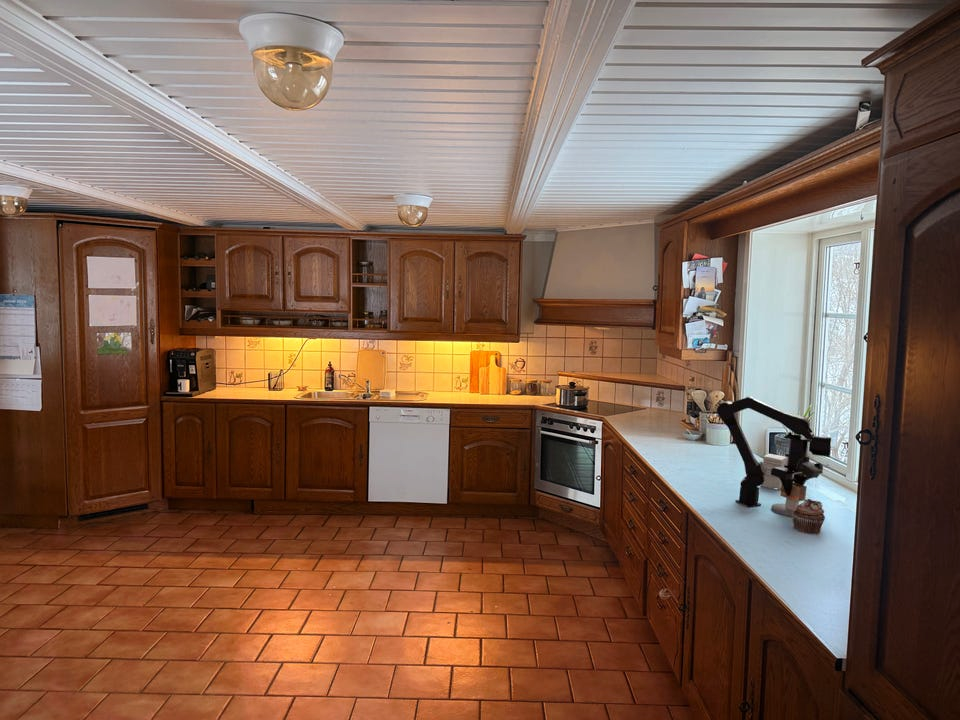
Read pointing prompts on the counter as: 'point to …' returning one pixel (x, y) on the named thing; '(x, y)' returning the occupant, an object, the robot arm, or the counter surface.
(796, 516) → the cupcake
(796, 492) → the walnut sleeve
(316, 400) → the counter surface
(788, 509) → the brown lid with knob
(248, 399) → the counter surface
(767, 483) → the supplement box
